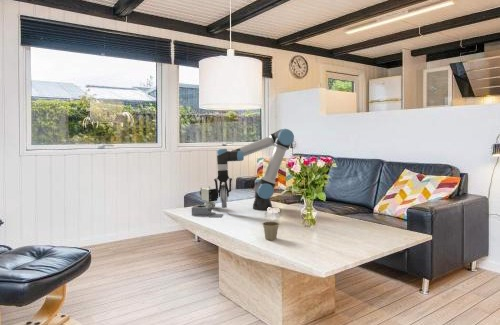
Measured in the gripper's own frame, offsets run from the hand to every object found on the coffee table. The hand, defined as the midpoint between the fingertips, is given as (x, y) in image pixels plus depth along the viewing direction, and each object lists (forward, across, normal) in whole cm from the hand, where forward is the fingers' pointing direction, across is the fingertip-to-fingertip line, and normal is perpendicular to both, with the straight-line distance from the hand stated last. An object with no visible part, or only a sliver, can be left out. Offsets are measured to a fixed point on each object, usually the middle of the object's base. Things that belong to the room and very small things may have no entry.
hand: (224, 201), depth 269 cm
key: (+5, 0, 0) cm, 5 cm away
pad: (+9, +5, +9) cm, 13 cm away
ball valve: (+9, +15, -19) cm, 26 cm away
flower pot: (+10, -36, +64) cm, 74 cm away
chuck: (+9, +17, +2) cm, 19 cm away
